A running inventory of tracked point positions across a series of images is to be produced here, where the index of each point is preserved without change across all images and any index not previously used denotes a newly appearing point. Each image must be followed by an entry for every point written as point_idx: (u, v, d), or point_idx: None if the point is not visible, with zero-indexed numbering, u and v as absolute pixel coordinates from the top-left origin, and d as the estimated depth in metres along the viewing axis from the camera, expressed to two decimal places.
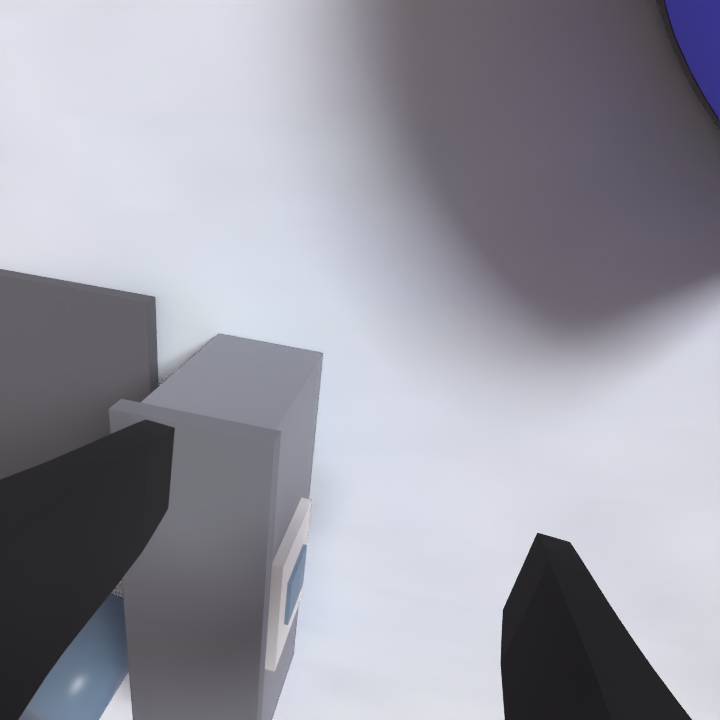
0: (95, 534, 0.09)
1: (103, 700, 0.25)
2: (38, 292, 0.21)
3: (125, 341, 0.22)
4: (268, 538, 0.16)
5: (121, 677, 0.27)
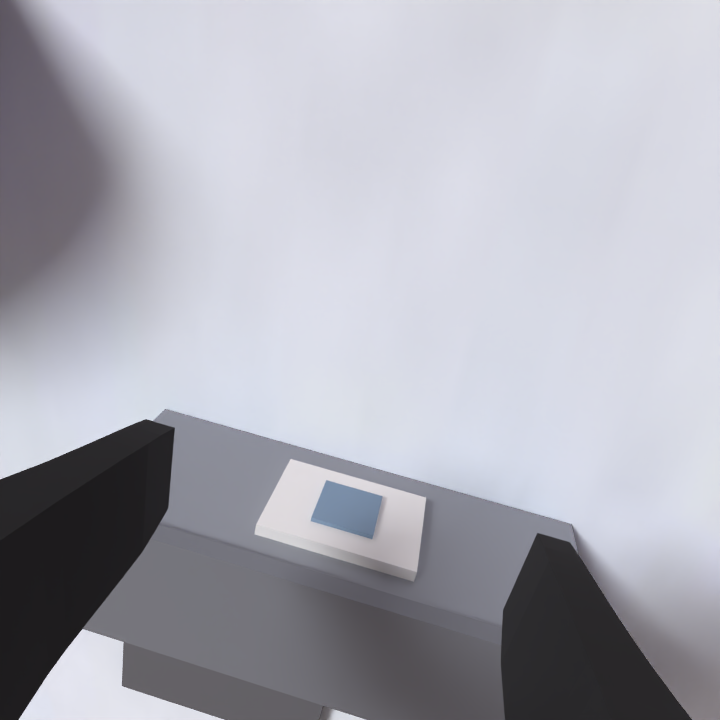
0: (95, 534, 0.09)
1: None
2: None
3: None
4: (151, 537, 0.16)
5: None
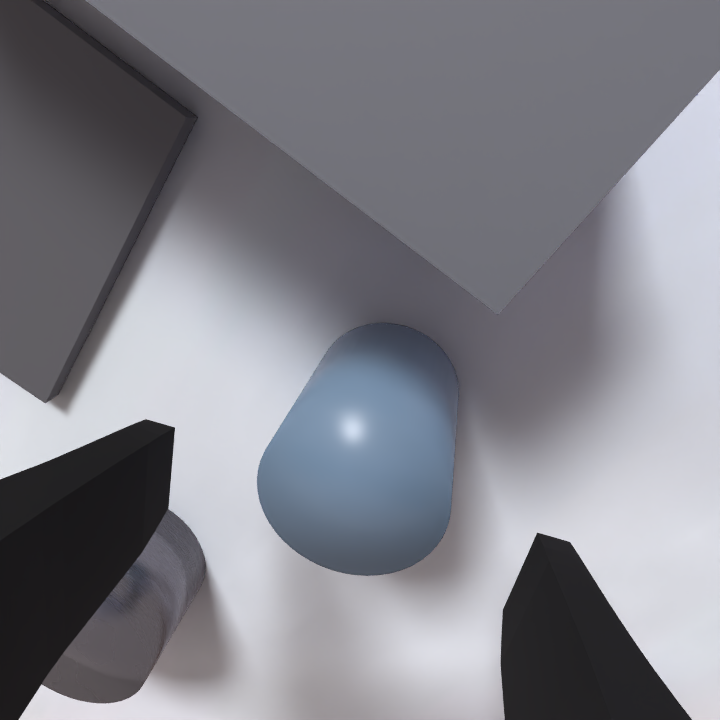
0: (95, 534, 0.09)
1: (408, 401, 0.12)
2: None
3: None
4: None
5: (426, 381, 0.13)
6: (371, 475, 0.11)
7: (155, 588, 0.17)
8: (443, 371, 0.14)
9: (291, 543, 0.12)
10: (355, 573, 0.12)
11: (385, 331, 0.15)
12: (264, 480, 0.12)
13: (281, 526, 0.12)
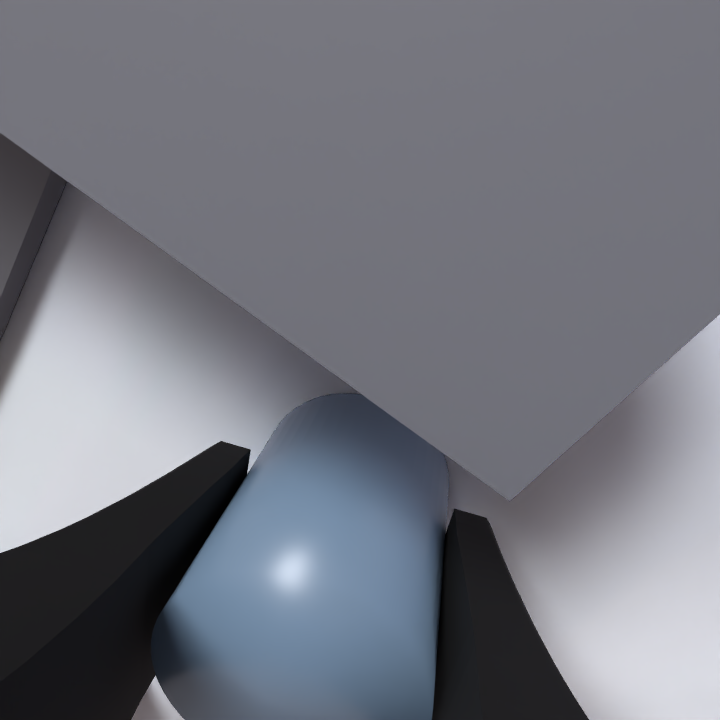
0: (185, 562, 0.09)
1: (370, 539, 0.08)
2: None
3: None
4: None
5: (401, 493, 0.09)
6: (314, 658, 0.08)
7: None
8: (427, 465, 0.11)
9: None
10: None
11: (350, 408, 0.11)
12: (161, 653, 0.08)
13: (191, 711, 0.09)
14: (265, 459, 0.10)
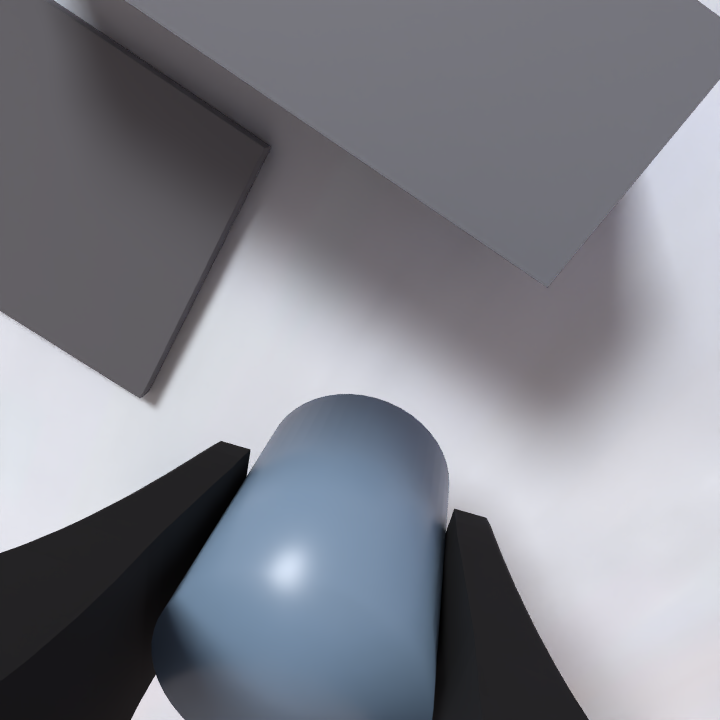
0: (185, 562, 0.09)
1: (371, 540, 0.08)
2: None
3: (1, 10, 0.16)
4: None
5: (401, 494, 0.09)
6: (315, 659, 0.08)
7: None
8: (427, 466, 0.11)
9: None
10: None
11: (350, 409, 0.11)
12: (162, 654, 0.08)
13: (191, 712, 0.09)
14: (265, 460, 0.10)
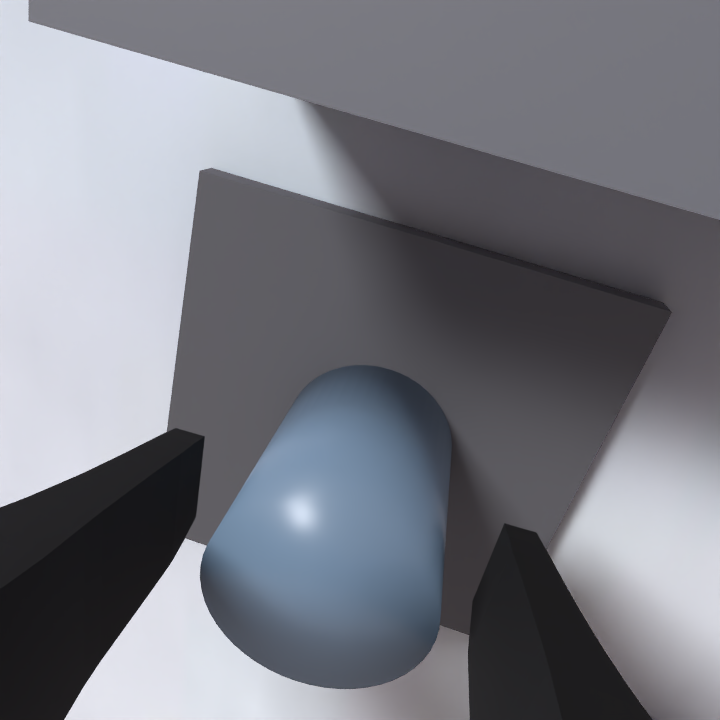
0: (130, 545, 0.09)
1: (386, 479, 0.09)
2: (192, 357, 0.14)
3: (270, 237, 0.12)
4: None
5: (411, 446, 0.11)
6: (340, 576, 0.09)
7: None
8: (433, 426, 0.12)
9: (244, 649, 0.10)
10: (324, 685, 0.10)
11: (364, 377, 0.12)
12: (209, 577, 0.10)
13: (232, 629, 0.10)
14: (291, 419, 0.12)
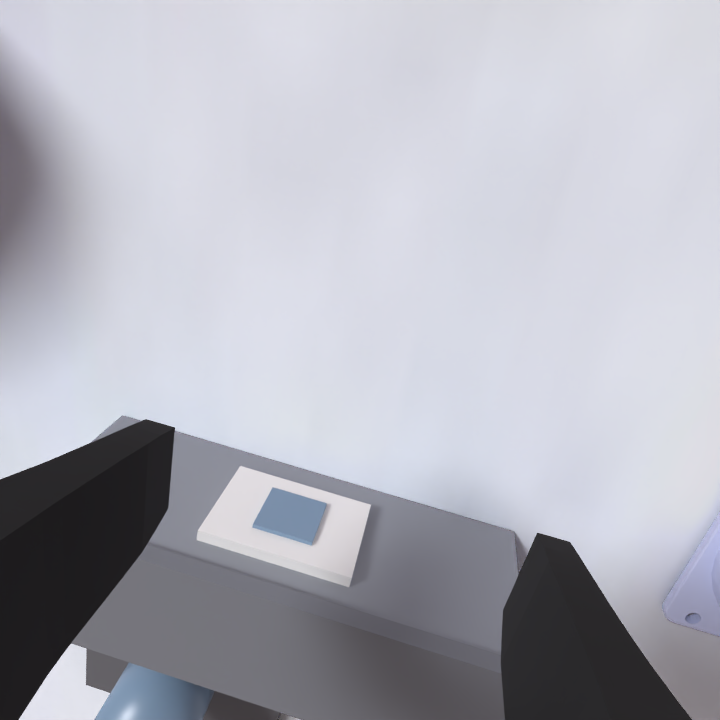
0: (95, 534, 0.09)
1: (160, 706, 0.23)
2: None
3: None
4: None
5: None
6: None
7: None
8: None
9: None
10: None
11: None
12: None
13: None
14: None
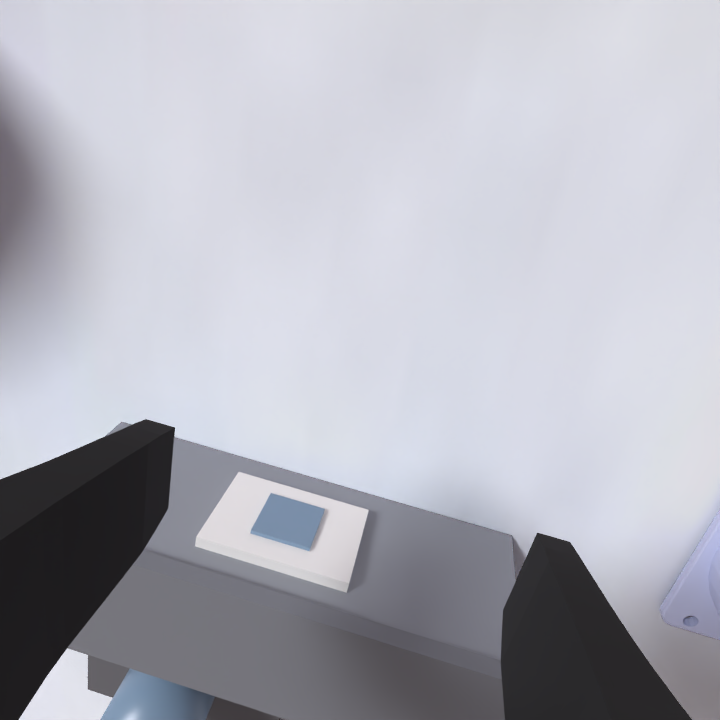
0: (95, 534, 0.09)
1: (163, 716, 0.23)
2: None
3: None
4: None
5: (185, 688, 0.24)
6: None
7: None
8: None
9: None
10: None
11: None
12: None
13: None
14: None
